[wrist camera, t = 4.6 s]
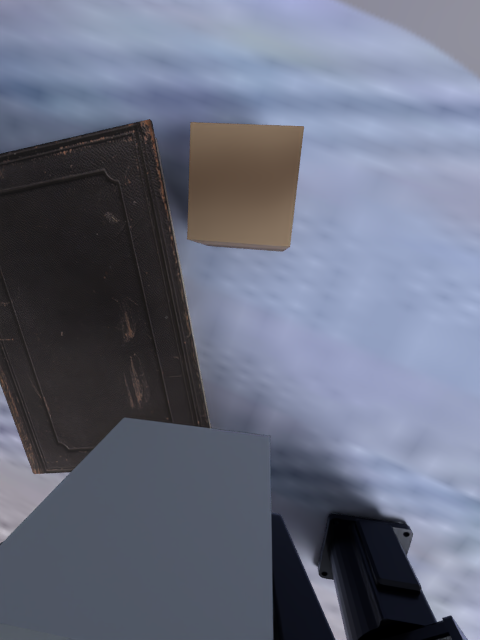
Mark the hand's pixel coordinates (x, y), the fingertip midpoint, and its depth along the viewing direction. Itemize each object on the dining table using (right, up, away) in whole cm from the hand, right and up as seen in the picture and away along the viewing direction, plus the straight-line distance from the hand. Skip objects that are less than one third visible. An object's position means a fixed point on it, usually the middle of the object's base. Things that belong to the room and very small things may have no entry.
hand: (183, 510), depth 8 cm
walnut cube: (+2, +13, +9) cm, 16 cm away
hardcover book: (-9, +6, +12) cm, 16 cm away
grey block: (0, 0, +1) cm, 1 cm away
